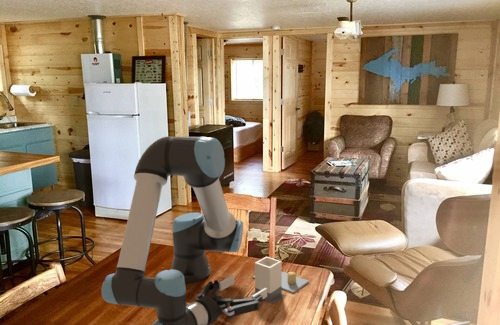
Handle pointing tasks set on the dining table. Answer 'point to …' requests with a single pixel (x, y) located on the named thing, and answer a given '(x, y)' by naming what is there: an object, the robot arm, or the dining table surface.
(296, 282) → the pin board
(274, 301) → the mat
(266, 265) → the sleeve
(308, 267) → the dining table surface
